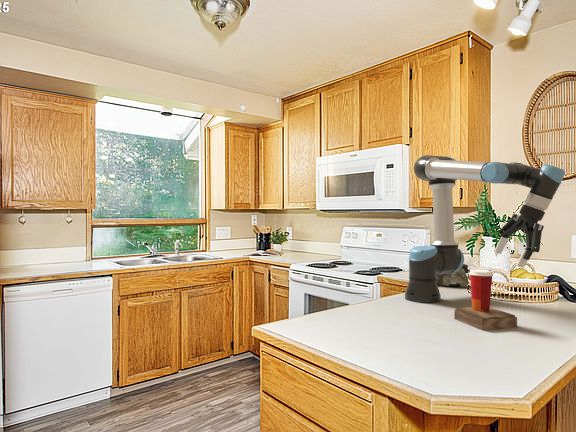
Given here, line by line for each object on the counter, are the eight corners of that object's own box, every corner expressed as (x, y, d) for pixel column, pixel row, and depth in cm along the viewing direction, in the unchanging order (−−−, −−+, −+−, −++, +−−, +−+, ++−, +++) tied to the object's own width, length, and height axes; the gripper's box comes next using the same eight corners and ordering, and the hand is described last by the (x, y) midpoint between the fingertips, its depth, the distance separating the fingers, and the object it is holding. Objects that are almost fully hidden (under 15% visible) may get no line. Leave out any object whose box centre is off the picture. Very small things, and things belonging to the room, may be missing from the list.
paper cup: (492, 308, 144) (492, 270, 144) (492, 313, 137) (493, 273, 137) (468, 306, 147) (469, 268, 147) (468, 310, 141) (468, 271, 140)
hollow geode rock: (415, 292, 214) (413, 275, 204) (415, 273, 223) (414, 256, 213) (471, 294, 205) (473, 277, 195) (469, 274, 213) (471, 257, 203)
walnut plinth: (482, 330, 131) (482, 318, 131) (454, 318, 145) (454, 307, 145) (516, 327, 135) (517, 315, 134) (486, 316, 148) (486, 305, 148)
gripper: (569, 220, 132) (539, 276, 137) (521, 202, 156) (497, 250, 161) (550, 213, 131) (520, 270, 136) (505, 196, 155) (481, 245, 160)
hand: (507, 259), depth 148 cm, fingers open, 13 cm apart
